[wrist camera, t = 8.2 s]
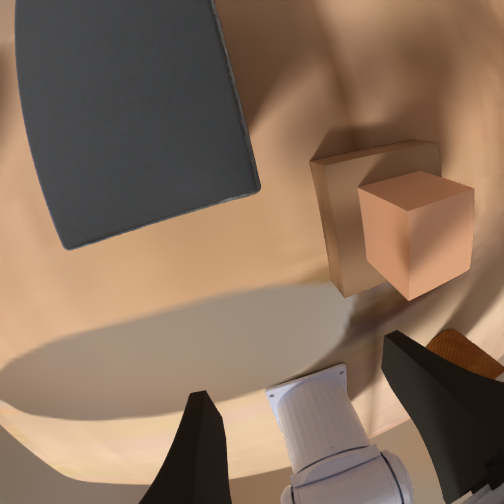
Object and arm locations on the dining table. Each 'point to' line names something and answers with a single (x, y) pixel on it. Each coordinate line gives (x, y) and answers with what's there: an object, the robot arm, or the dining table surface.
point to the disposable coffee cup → (466, 354)
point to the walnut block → (348, 205)
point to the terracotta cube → (418, 230)
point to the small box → (129, 112)
